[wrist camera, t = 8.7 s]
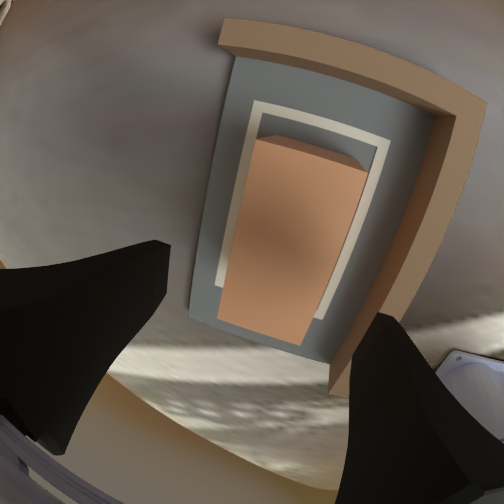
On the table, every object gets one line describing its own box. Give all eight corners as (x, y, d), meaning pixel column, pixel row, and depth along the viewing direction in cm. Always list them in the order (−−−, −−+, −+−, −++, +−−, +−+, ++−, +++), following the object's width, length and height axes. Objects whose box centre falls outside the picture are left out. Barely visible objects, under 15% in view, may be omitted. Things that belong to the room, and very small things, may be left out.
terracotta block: (308, 294, 19) (300, 345, 15) (242, 273, 19) (216, 318, 15) (355, 158, 15) (368, 173, 10) (276, 134, 15) (255, 139, 11)
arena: (457, 104, 12) (486, 102, 9) (347, 361, 22) (347, 398, 18) (245, 37, 14) (224, 17, 11) (191, 312, 23) (171, 342, 20)
